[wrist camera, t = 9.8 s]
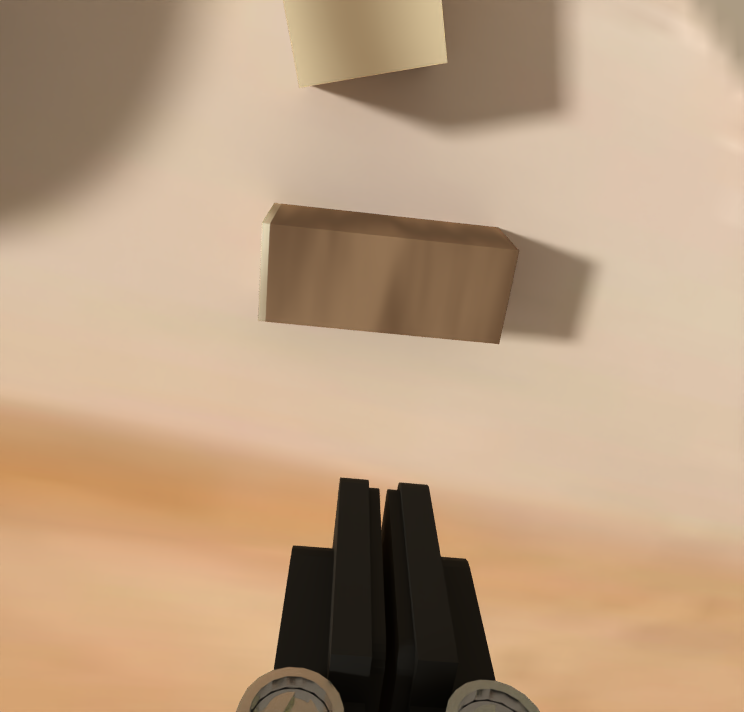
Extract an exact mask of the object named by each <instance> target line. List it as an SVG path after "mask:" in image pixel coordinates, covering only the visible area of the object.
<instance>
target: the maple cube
mask: <svg viewBox="0 0 744 712" xmlns="http://www.w3.org/2000/svg"><path fill="white" fill-rule="evenodd" d="M283 3H284V9H285V14H286V19H287V25H288V30H289V36H290V41H291V46H292V52H293V57H294V62H295V68H296V73H297V79H298V84H299V88H301V87H307V86H313V85H319V84H325V83H331V82H337V81H343V80H349V79H355V78H361V77H366V76H372V75H378V74H384V73H390V72H396V71H402V70H408V69H414V68H420V67H426V66H432V65H438V64H443V63H447V53H446V43H445V32H444V21H443V11H442V0H283Z"/></svg>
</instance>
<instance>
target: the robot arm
mask: <svg viewBox="0 0 744 712" xmlns="http://www.w3.org/2000/svg"><path fill="white" fill-rule="evenodd" d="M236 712H540V711H539V710H538V708H537V706H536V705H535V704H534V703H533V702H532V701H531V700H530V699H529V698H528V697H526V696H525V695H524V694H523V693H521V692H520V691H518V690H516V689H515V688H513V687H512V686H509V685H507V684H504V683H501V682H498V681H496V680H495V676H494V672H493V667H492V663H491V658H490V654H489V650H488V645H487V641H486V636H485V632H484V628H483V623H482V619H481V615H480V610H479V606H478V601H477V597H476V593H475V588H474V584H473V579H472V575H471V571H470V567H469V564H468V561H467V560H466V559H462V558H449V557H441V555H440V549H439V543H438V538H437V532H436V526H435V520H434V514H433V508H432V502H431V497H430V491H429V486H428V485H423V484H411V483H399V485H398V489H397V490H390V489H388V490H387V494H386V501H385V508H384V515H383V522H382V529H381V514H380V492H379V489H378V488H369V480H363V479H351V478H340V483H339V492H338V501H337V511H336V520H335V529H334V539H333V548H319V547H306V546H293V547H292V553H291V559H290V566H289V573H288V579H287V586H286V592H285V599H284V606H283V612H282V619H281V625H280V632H279V639H278V645H277V652H276V658H275V665H274V670H272V671H271V672H269V673H267V674H265V675H263V676H261V677H259V678H258V679H257V680H256V681H255V682H254V683H253V684H251V685H250V686H249V687H248V688H247V690H246V692H245V694H244V695H243V697H242V699H241V701H240V703H239V705H238V708H237V711H236Z"/></svg>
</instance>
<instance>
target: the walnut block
mask: <svg viewBox="0 0 744 712" xmlns="http://www.w3.org/2000/svg"><path fill="white" fill-rule="evenodd" d="M518 254H519V250H518V249H517V248H516V246H515V245H514V244H513V243H512V242H511V241H510V240H509V239H508V238H507V237H506V236H505V235H504V234H503V232H502V231H501V230H500V229H499V228H498V227H489V226H480V225H470V224H461V223H452V222H443V221H434V220H425V219H416V218H406V217H397V216H388V215H379V214H370V213H361V212H352V211H342V210H333V209H324V208H315V207H306V206H297V205H287V204H278V203H274V204H273V206H272V208H271V209H270V211H269V212H268V214H267V216H266V217H265V219H264V221H263V222H262V234H261V258H260V283H259V307H258V321H265V322H275V323H286V324H296V325H307V326H317V327H327V328H338V329H348V330H359V331H369V332H379V333H390V334H400V335H411V336H421V337H431V338H442V339H452V340H463V341H473V342H483V343H494V344H499V342H500V337H501V333H502V328H503V324H504V319H505V314H506V310H507V305H508V300H509V296H510V291H511V286H512V282H513V277H514V272H515V268H516V263H517V258H518Z"/></svg>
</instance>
